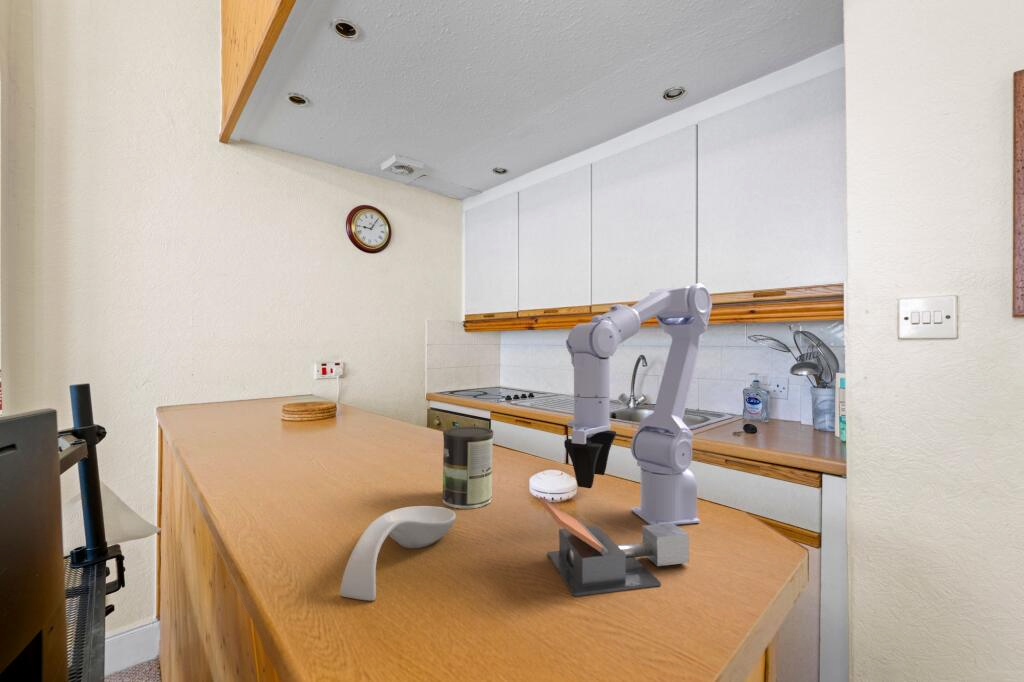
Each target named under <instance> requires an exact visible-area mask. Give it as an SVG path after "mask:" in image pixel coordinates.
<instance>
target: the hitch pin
mask: <svg viewBox="0 0 1024 682" xmlns="http://www.w3.org/2000/svg"><path fill="white" fill-rule="evenodd" d="M641 527H642V528H641V529H642V532H641V533H642V536H641V537H642V542H635V543H632V542H631V543H624V544H616V545H617V546H618V547H619V548H620V549H621V550H622V551H623V552H624V553H626V558H635V559H636V558H643V557H644V558H645V557H647V559H648V560H650V562H652V564H654V565H656V567H663V566H670V565H673V566H674V565H678V564H679V565H680V564H689V563H690V533H688V532H687V531H685V530H683V529H682V528H681V527H679V526H678V525H675V524H673V523H666V524H655V525H650V524H647V525H646V524H645V525H642V526H641ZM569 559H570V562H571V564H573V552H572V550H569Z"/></svg>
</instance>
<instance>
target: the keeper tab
mask: <svg viewBox="0 0 1024 682" xmlns="http://www.w3.org/2000/svg"><path fill="white" fill-rule="evenodd" d="M538 501H539V503H540V504H541V505H542V506H543V508H544V509H545V510H546V511H547V512H548V513H549V515H550V517H551V518H553V519H554V521H555V522H556V523H557V525H559V526H560V527H562V529H564V528H565V529H566V530H568V531H569V532H571V533H572V534H574V535H575V536H577V537H578V538H580V539H581V540H583V541H584V542H586V543H587V544H589V545H590V546H592V547H593V548H595V549H596V550H598V551H599V552H600V553H601V554H602V555H603V556H606V555H607V554H608V550H607V549H606V548H605V547H604V546H603V545H602V544H601V543H600V542H599V541H598V540H597V539H596V538H595V537H594V535H593V534H592V533H591V532H590V531H589V530H588V529H587V528H586V527H587V526H586V525H584V524H583V523H582V522H581V521H580V520H577V519H575V518H574V517H572V516H571V515H569V514H568V513H567V512H565V511H563V510H562V509H560V508H559V507H557V506H556V505H554V504H553V503H551V502H550V501H548V499H546V498H544V497H543V496H539V498H538Z"/></svg>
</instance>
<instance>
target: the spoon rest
mask: <svg viewBox="0 0 1024 682" xmlns="http://www.w3.org/2000/svg"><path fill="white" fill-rule="evenodd" d="M456 519H457V515H456V513H455V511H454V510H452V509H450V508H447V507H443V506H433V505H416V506H415V505H414V506H413V505H412V506H406V507H401V508H397V509H393V510H390V511H388V512H385V513H383V514H381V515H380V516H379V517H377V518H375V519H374V520H373V521H372V522H371V523H369V524H368V526H367V527H366V528H365V530H364V531H363V532H362V534H361V536H360V537H359V539H358V540H357V542H356V544H355V546H354V547H353V549H352V552H351V554H350V556H349V559H348V561H347V564H346V566H345V569H344V572H343V576H342V579H341V584H340V589H339V590H340V591H339V595H340V597H344V598H348V599H355V600H362V601H374V600H376V598H377V583H376V582H377V580H376V575H377V573H376V571H377V563H378V562H377V561H378V556H379V553H380V550H381V548H382V545H383V544H384V542H385V540H386V538H387V537H388V536H389V537H391V539H393V541H395V542H396V543H398V545H400V546H401V547H404V548H408V549H418V548H425V547H429V546H430V545H433V544H434V543H436V542H437V541H438V540H440V539H441V538H443V537H444V536H445V535H446V534H448V532H449V531H450V530H451V528H452V527H453V525H454V523H455V521H456Z"/></svg>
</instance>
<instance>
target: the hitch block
mask: <svg viewBox="0 0 1024 682" xmlns="http://www.w3.org/2000/svg"><path fill="white" fill-rule="evenodd" d="M585 527H586V528H587V529H588V530H589V531H590V532H591V533H592V534H593V535H594V537H595V538H596V539H597V540H598V541H599V542H600V543H601V544H602V545H603V546H604V547H605V548H606V549H607V550H608V554H607V555H606V556H603V555H602V554H601V553H600V552H599V551H598V550H596V549H595V548H593V547H592V546H590V545H589V544H587V543H586V542H584V541H583V540H581V539H580V538H578V537H577V536H575V535H574V534H572V533H571V532H569V531H568V530H566V529H565V528H559V530H558V550H556V551H555V550H554V551H553V550H552V551H547V553H546V554H547V555H546V556H548V558H549V560H550V561H551V563H552V565H553V566H554V567H555V569H556V571H557V572H558V574H559V576H560V577H561V579H562V580H563V582H564V583H565V585H566V586H567V588H568V590H569V591H570V593H571V595H572V596H573V597H574V598H575V597H583V596H589V595H599V594H605V593H613V592H615V593H616V592H623V591H630V590H639V589H645V588H646V589H647V588H652V587H653V588H654V587H661V586H662V584H661V581H660V580H659V579H658V578H657V577H655V575H653V574H652V573H651V571H649V570H648V569H647V568H646V567H645V566H644V565H643V564H642V563H641V562H640V561H638V559H636V557H635V558H626V553H624V552H623V551H622V550H621V549H620V548H619V547H618V546H617V545H618V544H617V543H615V542H614V541H613V540H612V539H611V538H610V537H609V536H608V535H607V534H606V533H605V532H604V531H603V530H602V529H601V528H600V527H599V526H598V525H589V526H585ZM569 550H572V552H573V564H571V562H570V559H569Z"/></svg>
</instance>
